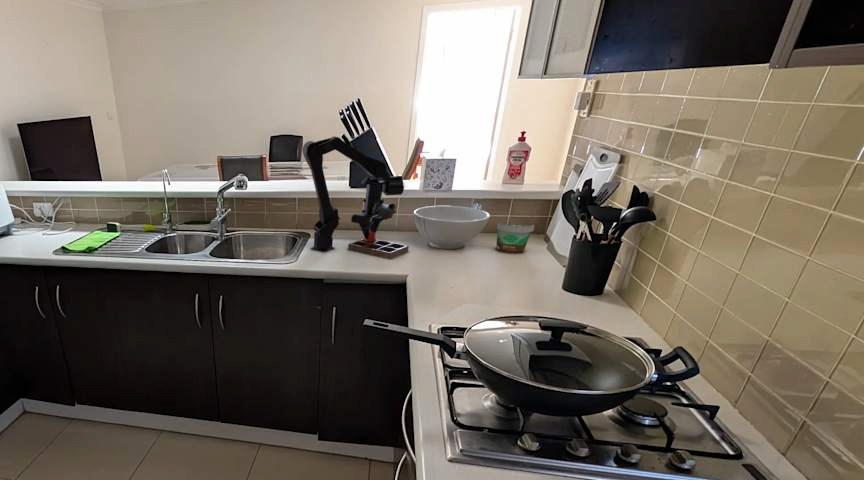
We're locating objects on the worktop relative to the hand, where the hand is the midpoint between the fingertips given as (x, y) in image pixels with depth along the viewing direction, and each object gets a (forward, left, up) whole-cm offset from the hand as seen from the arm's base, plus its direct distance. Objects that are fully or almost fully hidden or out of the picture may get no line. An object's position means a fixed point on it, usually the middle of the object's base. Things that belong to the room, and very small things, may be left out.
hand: (369, 237), depth 194 cm
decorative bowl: (+21, +21, -4) cm, 30 cm away
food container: (+43, +27, -4) cm, 51 cm away
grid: (+6, -3, -3) cm, 7 cm away
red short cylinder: (0, 0, -1) cm, 1 cm away
